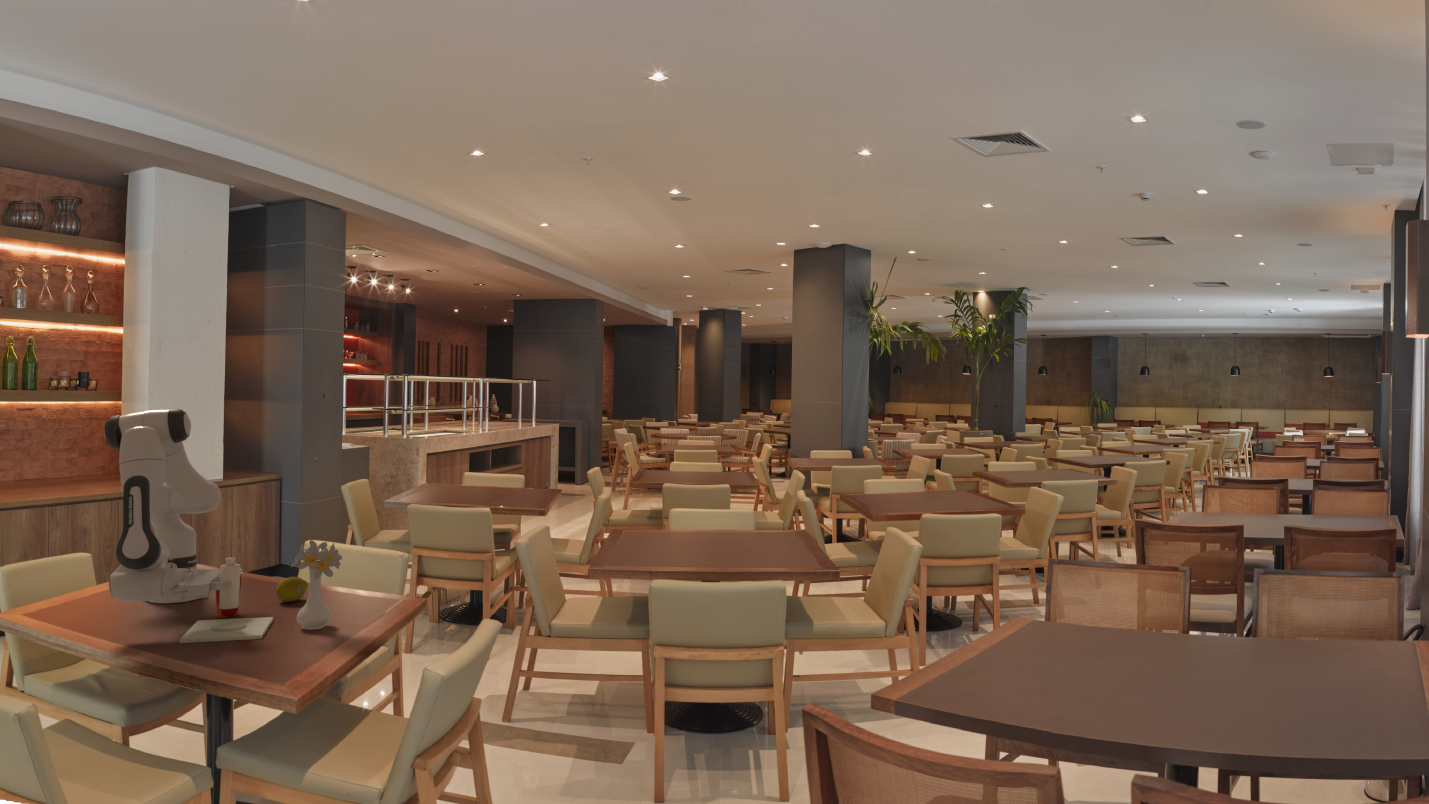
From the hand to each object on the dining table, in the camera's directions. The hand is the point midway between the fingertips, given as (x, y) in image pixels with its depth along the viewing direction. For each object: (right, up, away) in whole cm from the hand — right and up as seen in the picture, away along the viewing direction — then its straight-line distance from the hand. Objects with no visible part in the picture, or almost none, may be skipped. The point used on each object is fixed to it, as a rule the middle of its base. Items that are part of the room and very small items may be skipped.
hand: (233, 582), depth 245 cm
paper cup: (-11, -14, +17) cm, 24 cm away
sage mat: (-1, -14, 0) cm, 14 cm away
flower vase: (+21, -15, +7) cm, 26 cm away
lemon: (-1, -14, +36) cm, 39 cm away
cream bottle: (-1, -7, 0) cm, 7 cm away
